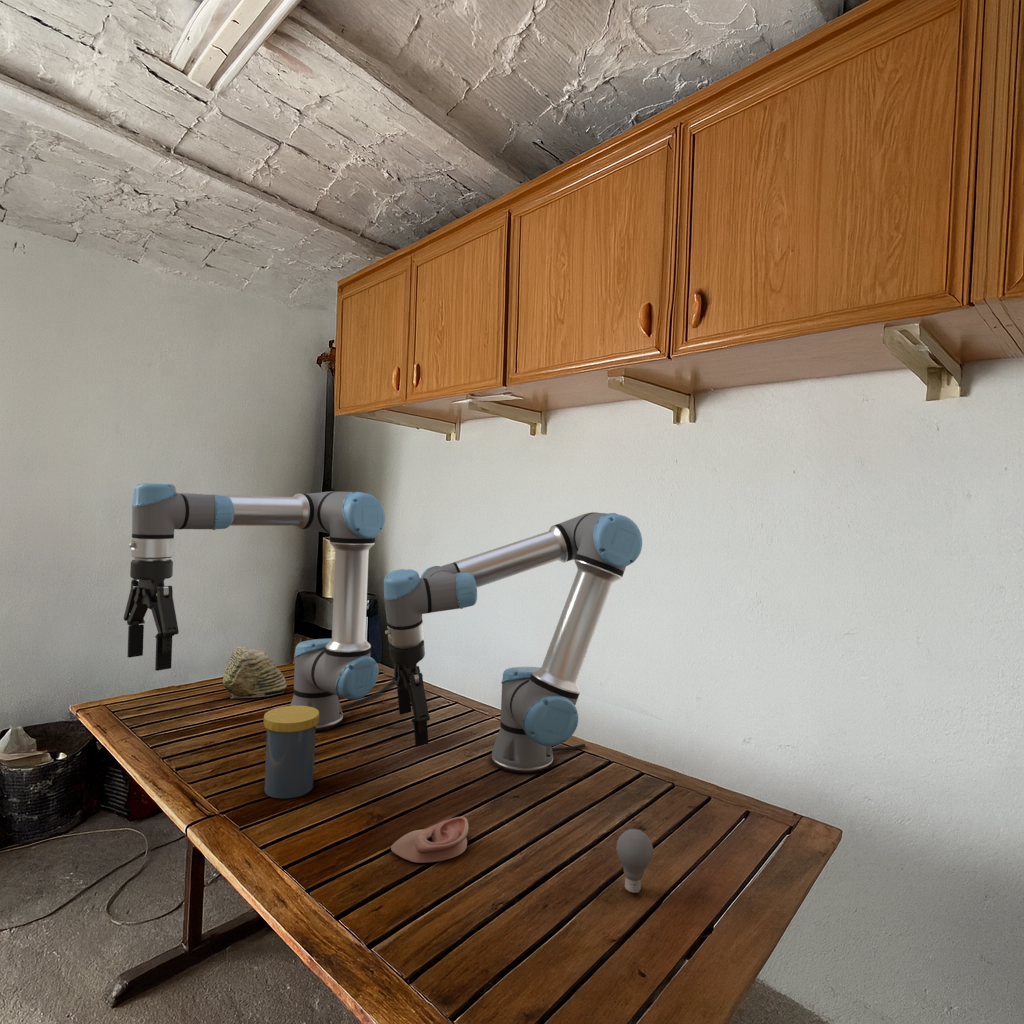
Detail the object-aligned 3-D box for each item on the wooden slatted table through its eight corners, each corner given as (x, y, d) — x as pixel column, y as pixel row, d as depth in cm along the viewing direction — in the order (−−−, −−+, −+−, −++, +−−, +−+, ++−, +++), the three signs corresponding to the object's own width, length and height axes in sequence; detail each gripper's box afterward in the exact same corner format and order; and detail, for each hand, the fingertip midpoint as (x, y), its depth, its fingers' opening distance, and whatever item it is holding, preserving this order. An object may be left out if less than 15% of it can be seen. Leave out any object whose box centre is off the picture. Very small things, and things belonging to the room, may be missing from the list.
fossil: (218, 695, 195) (220, 647, 195) (278, 685, 208) (279, 640, 207) (228, 703, 189) (230, 653, 188) (289, 692, 201) (290, 645, 201)
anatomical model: (384, 835, 112) (408, 805, 123) (383, 857, 112) (407, 825, 123) (456, 847, 109) (474, 815, 120) (455, 869, 109) (473, 836, 121)
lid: (324, 727, 135) (325, 718, 135) (268, 735, 129) (268, 726, 129) (312, 711, 145) (312, 702, 145) (259, 718, 139) (259, 709, 139)
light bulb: (610, 879, 108) (613, 822, 108) (644, 879, 109) (647, 822, 109) (619, 902, 102) (622, 840, 102) (655, 901, 103) (658, 840, 103)
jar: (318, 792, 136) (321, 720, 135) (268, 802, 130) (271, 727, 130) (307, 774, 144) (310, 705, 144) (260, 782, 139) (263, 711, 139)
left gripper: (108, 554, 134) (104, 654, 134) (159, 565, 118) (155, 678, 119) (146, 552, 140) (143, 648, 140) (199, 563, 124) (195, 671, 124)
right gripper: (376, 622, 145) (383, 704, 151) (404, 671, 123) (412, 764, 129) (408, 616, 148) (414, 696, 154) (440, 662, 126) (447, 754, 132)
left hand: (148, 662), depth 129 cm, fingers open, 13 cm apart
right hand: (413, 728), depth 141 cm, fingers open, 13 cm apart
